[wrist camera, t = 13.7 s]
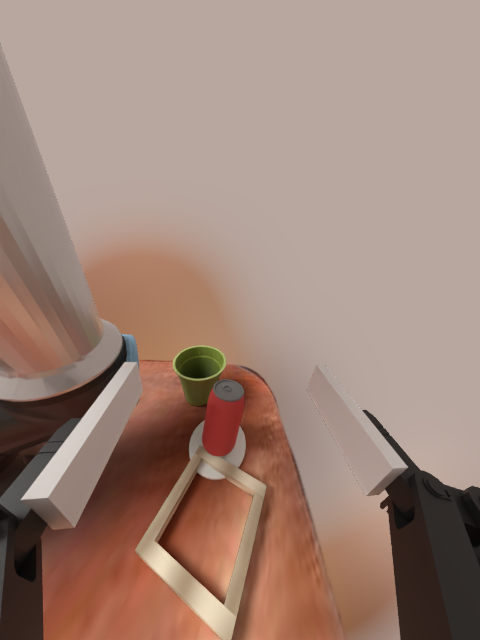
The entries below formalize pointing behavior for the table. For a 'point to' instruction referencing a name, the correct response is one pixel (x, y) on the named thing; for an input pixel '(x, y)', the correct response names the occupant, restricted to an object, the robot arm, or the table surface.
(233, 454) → the white plate
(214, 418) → the beer can
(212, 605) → the frame
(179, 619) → the table surface
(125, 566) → the table surface
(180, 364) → the plant pot
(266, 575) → the table surface
